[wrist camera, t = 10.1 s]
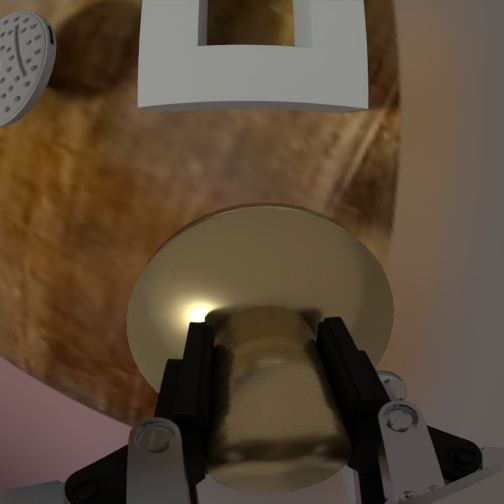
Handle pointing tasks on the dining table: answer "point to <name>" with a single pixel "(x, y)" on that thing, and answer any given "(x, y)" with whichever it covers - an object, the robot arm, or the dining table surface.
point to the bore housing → (253, 61)
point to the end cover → (263, 334)
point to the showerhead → (24, 63)
